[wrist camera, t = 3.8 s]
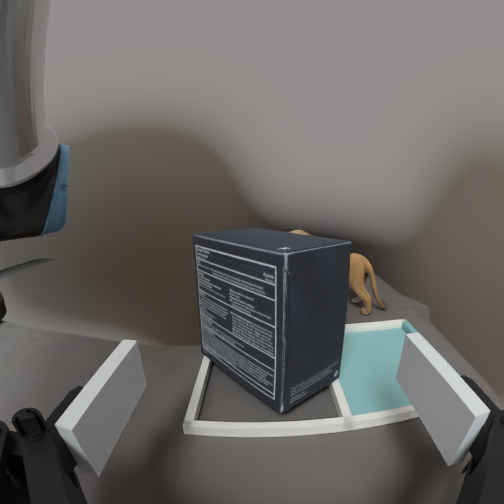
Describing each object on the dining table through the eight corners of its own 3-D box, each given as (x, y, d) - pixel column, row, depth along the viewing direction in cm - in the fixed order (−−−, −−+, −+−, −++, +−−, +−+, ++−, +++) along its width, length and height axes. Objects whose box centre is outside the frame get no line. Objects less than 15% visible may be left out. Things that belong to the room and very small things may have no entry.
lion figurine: (274, 299, 40) (274, 231, 38) (293, 287, 44) (293, 226, 42) (383, 319, 32) (391, 241, 30) (391, 303, 36) (397, 234, 34)
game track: (184, 433, 16) (182, 425, 16) (213, 335, 30) (213, 328, 30) (471, 400, 16) (475, 392, 15) (403, 325, 29) (405, 319, 29)
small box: (345, 376, 21) (357, 238, 18) (281, 418, 17) (284, 254, 15) (257, 332, 29) (255, 224, 27) (198, 353, 25) (187, 232, 23)
